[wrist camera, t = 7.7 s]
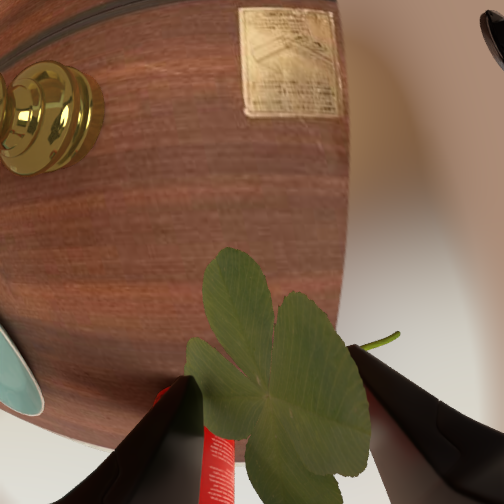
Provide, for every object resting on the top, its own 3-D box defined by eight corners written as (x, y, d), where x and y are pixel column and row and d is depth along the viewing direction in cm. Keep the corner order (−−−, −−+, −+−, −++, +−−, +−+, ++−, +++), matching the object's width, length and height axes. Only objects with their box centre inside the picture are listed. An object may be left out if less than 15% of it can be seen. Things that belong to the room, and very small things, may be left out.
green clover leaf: (294, 278, 13) (155, 302, 10) (440, 187, 7) (273, 141, 3) (337, 416, 11) (213, 479, 7) (502, 399, 5) (397, 574, 1)
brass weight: (78, 187, 16) (-27, 227, 7) (20, 145, 15) (-75, 163, 5) (126, 92, 14) (26, 56, 5) (60, 60, 13) (-33, 34, 3)
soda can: (231, 427, 26) (230, 551, 12) (160, 417, 25) (135, 536, 11) (239, 382, 23) (239, 543, 9) (152, 371, 22) (109, 520, 8)
